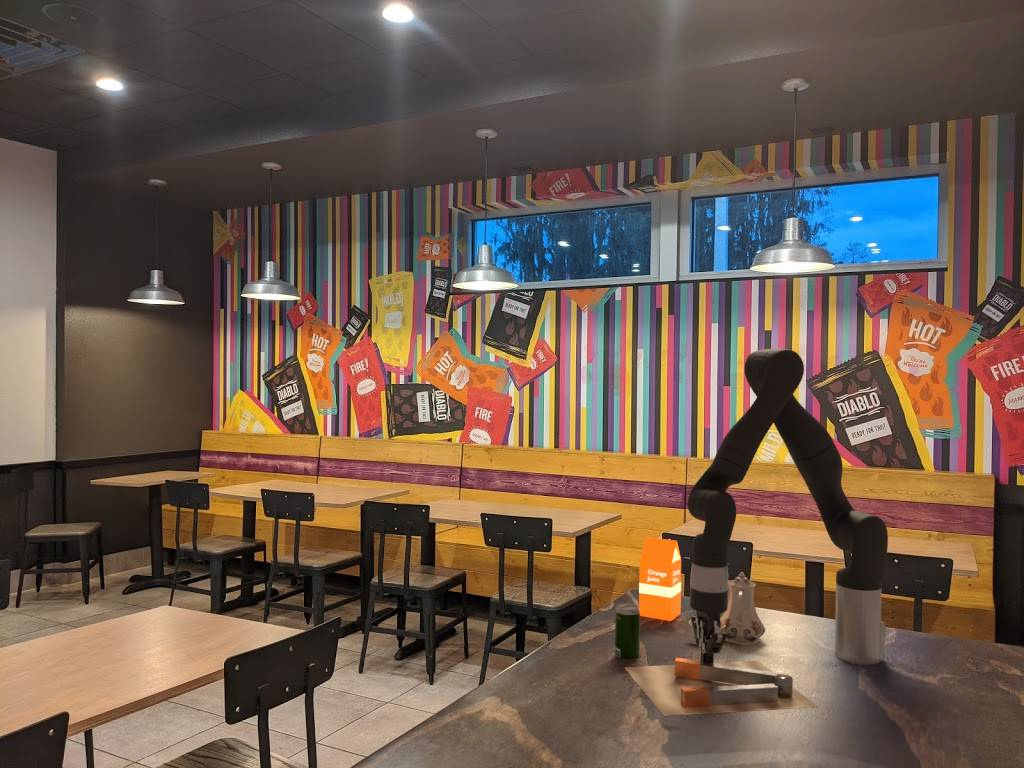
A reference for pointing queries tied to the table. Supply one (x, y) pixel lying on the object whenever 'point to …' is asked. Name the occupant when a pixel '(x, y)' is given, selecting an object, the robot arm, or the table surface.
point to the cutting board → (668, 687)
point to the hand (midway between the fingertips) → (706, 670)
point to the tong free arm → (733, 675)
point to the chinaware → (740, 614)
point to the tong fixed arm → (728, 695)
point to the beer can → (627, 631)
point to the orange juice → (660, 579)
